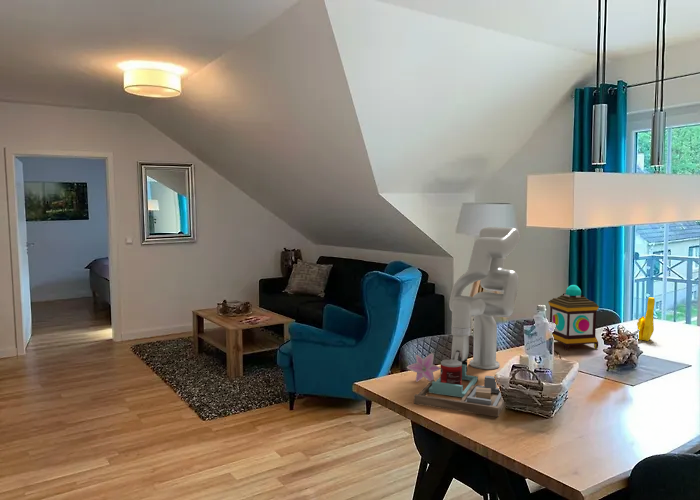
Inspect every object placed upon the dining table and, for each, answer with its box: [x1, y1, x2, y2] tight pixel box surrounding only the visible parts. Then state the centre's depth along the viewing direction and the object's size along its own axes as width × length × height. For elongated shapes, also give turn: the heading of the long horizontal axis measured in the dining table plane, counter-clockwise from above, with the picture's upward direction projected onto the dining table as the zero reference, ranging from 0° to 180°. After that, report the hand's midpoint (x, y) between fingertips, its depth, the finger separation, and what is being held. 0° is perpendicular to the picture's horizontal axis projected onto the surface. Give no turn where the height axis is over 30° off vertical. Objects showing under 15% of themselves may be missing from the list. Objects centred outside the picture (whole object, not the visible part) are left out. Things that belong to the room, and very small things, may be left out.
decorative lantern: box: [548, 284, 600, 352], centre depth 273 cm, size 20×20×30 cm
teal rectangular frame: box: [428, 364, 479, 399], centre depth 214 cm, size 22×13×6 cm, turn 155°
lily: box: [406, 352, 441, 382], centre depth 224 cm, size 12×12×10 cm
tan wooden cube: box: [475, 386, 492, 400], centre depth 196 cm, size 5×5×5 cm
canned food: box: [439, 359, 463, 385], centre depth 209 cm, size 8×8×11 cm
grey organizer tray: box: [465, 375, 502, 406], centre depth 199 cm, size 22×10×6 cm, turn 155°
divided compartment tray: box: [413, 379, 505, 418], centre depth 200 cm, size 22×29×3 cm
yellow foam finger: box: [636, 296, 656, 342], centre depth 284 cm, size 18×8×22 cm, turn 142°
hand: (460, 374), depth 223 cm, fingers open, 8 cm apart
